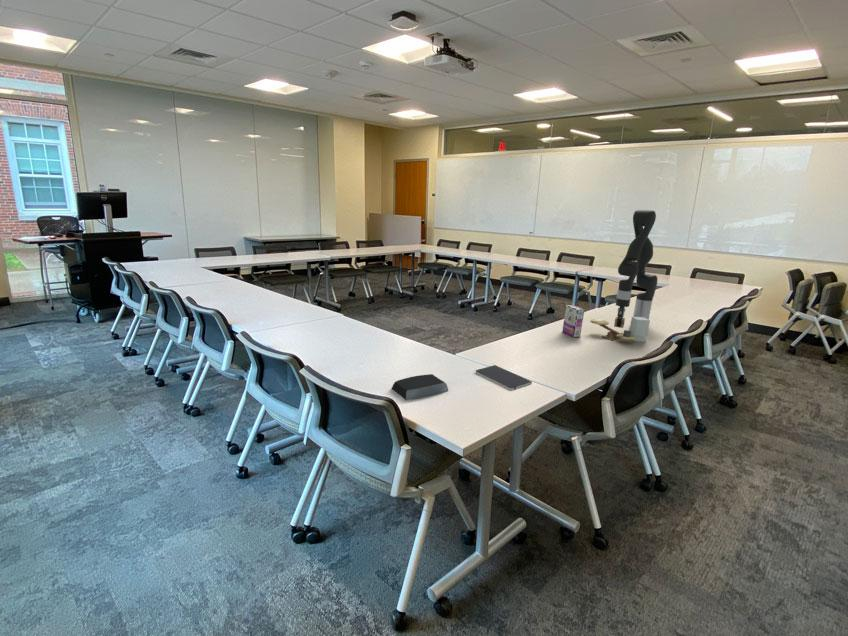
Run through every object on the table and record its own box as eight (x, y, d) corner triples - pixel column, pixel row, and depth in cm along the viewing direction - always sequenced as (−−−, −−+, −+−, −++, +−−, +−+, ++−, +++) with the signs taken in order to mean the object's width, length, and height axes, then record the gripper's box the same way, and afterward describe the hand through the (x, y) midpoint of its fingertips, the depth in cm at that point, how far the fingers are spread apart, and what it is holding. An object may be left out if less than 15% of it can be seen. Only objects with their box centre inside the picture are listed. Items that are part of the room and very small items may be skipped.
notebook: (531, 384, 189) (494, 368, 205) (531, 381, 189) (494, 364, 205) (511, 391, 181) (474, 373, 197) (511, 388, 181) (474, 370, 197)
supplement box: (646, 342, 254) (650, 320, 251) (633, 341, 254) (637, 319, 251) (640, 337, 261) (644, 317, 258) (627, 337, 261) (631, 316, 258)
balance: (585, 332, 266) (587, 320, 264) (595, 330, 272) (597, 318, 270) (628, 346, 245) (631, 333, 243) (638, 343, 250) (641, 330, 248)
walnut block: (614, 324, 271) (616, 316, 269) (623, 325, 269) (625, 317, 267) (613, 326, 267) (615, 318, 265) (623, 328, 264) (624, 319, 263)
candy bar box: (580, 337, 256) (585, 309, 252) (573, 337, 254) (577, 309, 250) (569, 331, 266) (573, 304, 262) (561, 331, 265) (565, 304, 260)
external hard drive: (449, 393, 177) (450, 383, 176) (406, 402, 167) (407, 392, 166) (431, 380, 188) (432, 371, 187) (390, 389, 178) (390, 379, 176)
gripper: (617, 294, 270) (613, 321, 275) (615, 299, 258) (611, 327, 263) (631, 296, 267) (626, 323, 272) (629, 301, 255) (624, 329, 260)
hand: (618, 325), depth 267 cm, fingers closed on walnut block, 5 cm apart
